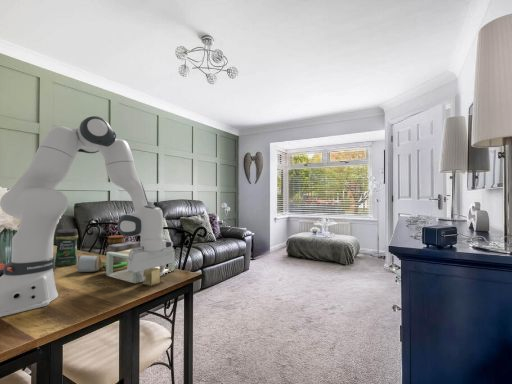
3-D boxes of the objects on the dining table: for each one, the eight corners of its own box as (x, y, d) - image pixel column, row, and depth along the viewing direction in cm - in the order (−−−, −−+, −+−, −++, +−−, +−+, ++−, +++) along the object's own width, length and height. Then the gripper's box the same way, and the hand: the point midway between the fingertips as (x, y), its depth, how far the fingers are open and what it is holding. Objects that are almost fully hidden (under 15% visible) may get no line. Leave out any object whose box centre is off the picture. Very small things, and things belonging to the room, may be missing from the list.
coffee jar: (53, 267, 134) (53, 230, 134) (57, 263, 141) (57, 228, 141) (76, 265, 138) (76, 229, 139) (78, 261, 145) (79, 227, 146)
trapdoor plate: (137, 263, 114) (137, 251, 114) (105, 256, 126) (105, 245, 126) (167, 255, 128) (167, 245, 128) (135, 250, 140) (135, 240, 140)
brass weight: (151, 286, 108) (151, 271, 108) (143, 283, 110) (143, 269, 110) (159, 283, 111) (159, 268, 111) (151, 281, 114) (151, 267, 114)
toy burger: (95, 266, 136) (96, 237, 136) (118, 261, 147) (119, 234, 147) (110, 269, 130) (110, 239, 130) (133, 264, 141) (133, 235, 142)
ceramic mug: (96, 273, 125) (96, 256, 125) (76, 274, 123) (77, 257, 123) (103, 267, 135) (103, 252, 135) (85, 268, 133) (85, 252, 133)
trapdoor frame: (135, 283, 110) (135, 258, 110) (106, 275, 121) (106, 252, 121) (174, 271, 128) (174, 249, 129) (146, 265, 139) (146, 244, 139)
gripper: (134, 250, 100) (133, 287, 100) (175, 241, 118) (175, 273, 118) (123, 248, 103) (123, 284, 103) (166, 240, 121) (165, 271, 121)
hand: (151, 278), depth 111 cm, fingers open, 7 cm apart
